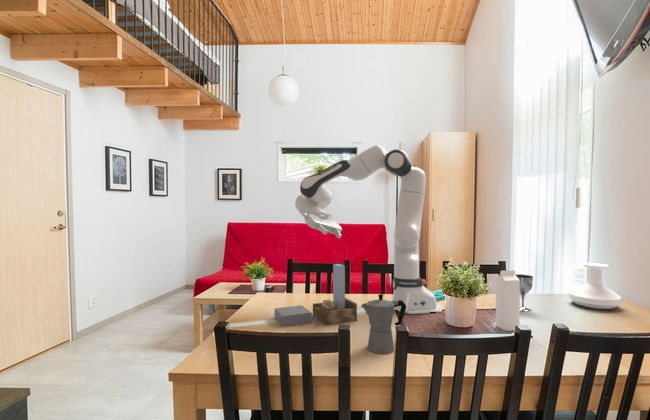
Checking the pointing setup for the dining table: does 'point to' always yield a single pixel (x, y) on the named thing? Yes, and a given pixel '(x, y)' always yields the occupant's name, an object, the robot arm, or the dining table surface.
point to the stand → (293, 315)
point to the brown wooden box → (336, 313)
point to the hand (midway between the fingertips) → (333, 234)
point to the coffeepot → (382, 324)
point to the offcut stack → (327, 305)
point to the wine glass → (524, 288)
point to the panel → (339, 286)
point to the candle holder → (595, 290)
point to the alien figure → (438, 295)
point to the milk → (507, 300)
